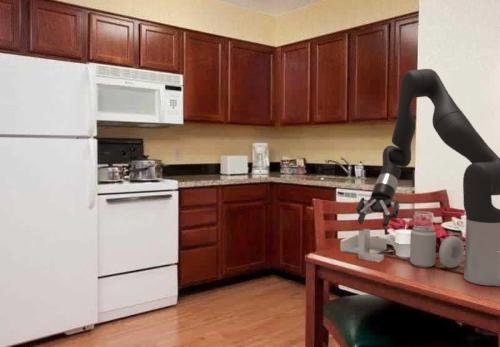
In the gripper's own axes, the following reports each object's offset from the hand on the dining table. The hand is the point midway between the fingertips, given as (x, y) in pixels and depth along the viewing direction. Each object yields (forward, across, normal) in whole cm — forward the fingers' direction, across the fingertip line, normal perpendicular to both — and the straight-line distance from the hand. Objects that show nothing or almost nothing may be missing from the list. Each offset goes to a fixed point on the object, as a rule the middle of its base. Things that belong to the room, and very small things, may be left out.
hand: (371, 224), depth 147 cm
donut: (+8, +26, +7) cm, 28 cm away
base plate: (+6, -4, +9) cm, 11 cm away
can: (+9, +18, +6) cm, 21 cm away
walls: (+6, -4, +9) cm, 11 cm away
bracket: (+12, +2, +3) cm, 12 cm away
